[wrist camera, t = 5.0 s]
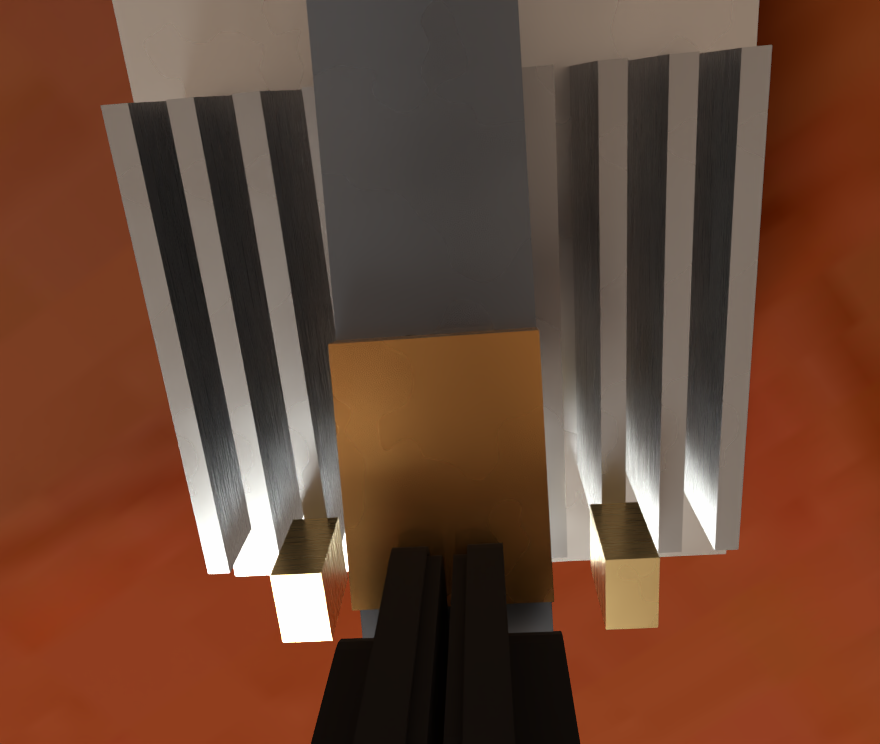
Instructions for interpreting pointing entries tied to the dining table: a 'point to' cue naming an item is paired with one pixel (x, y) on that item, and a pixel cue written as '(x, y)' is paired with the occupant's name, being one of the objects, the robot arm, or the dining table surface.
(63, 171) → the dining table surface
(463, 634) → the robot arm
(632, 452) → the heatsink base
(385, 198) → the strap
